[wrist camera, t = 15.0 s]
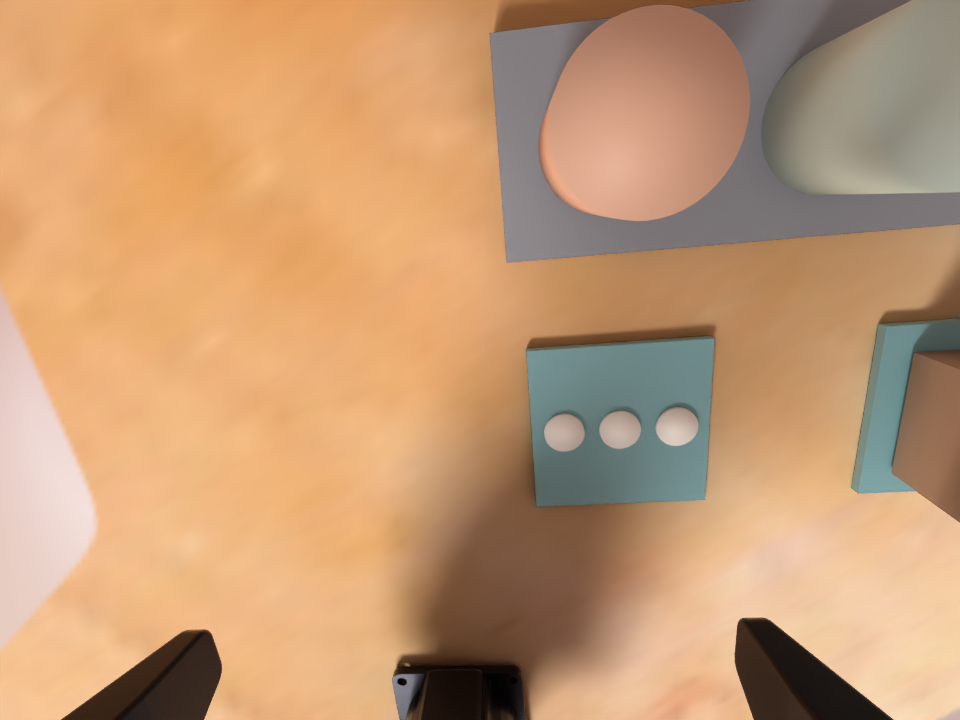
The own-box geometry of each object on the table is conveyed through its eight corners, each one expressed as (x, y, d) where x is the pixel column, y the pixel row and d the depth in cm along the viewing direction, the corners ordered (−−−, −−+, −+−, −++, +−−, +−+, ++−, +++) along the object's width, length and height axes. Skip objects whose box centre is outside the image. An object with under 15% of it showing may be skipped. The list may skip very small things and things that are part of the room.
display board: (1134, 205, 16) (1473, 208, 10) (506, 259, 18) (504, 286, 12) (1212, -47, 14) (1693, -217, 8) (491, 43, 16) (480, -46, 10)
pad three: (701, 494, 21) (707, 502, 20) (536, 501, 21) (536, 509, 21) (710, 335, 18) (716, 339, 18) (526, 348, 19) (526, 352, 18)
